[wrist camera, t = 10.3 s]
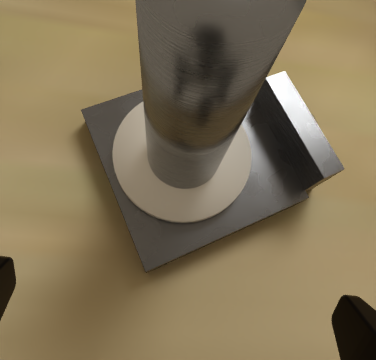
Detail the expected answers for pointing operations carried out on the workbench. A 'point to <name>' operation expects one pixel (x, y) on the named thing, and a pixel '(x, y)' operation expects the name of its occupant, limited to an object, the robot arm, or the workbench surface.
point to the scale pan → (167, 195)
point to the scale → (256, 183)
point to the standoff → (204, 77)
